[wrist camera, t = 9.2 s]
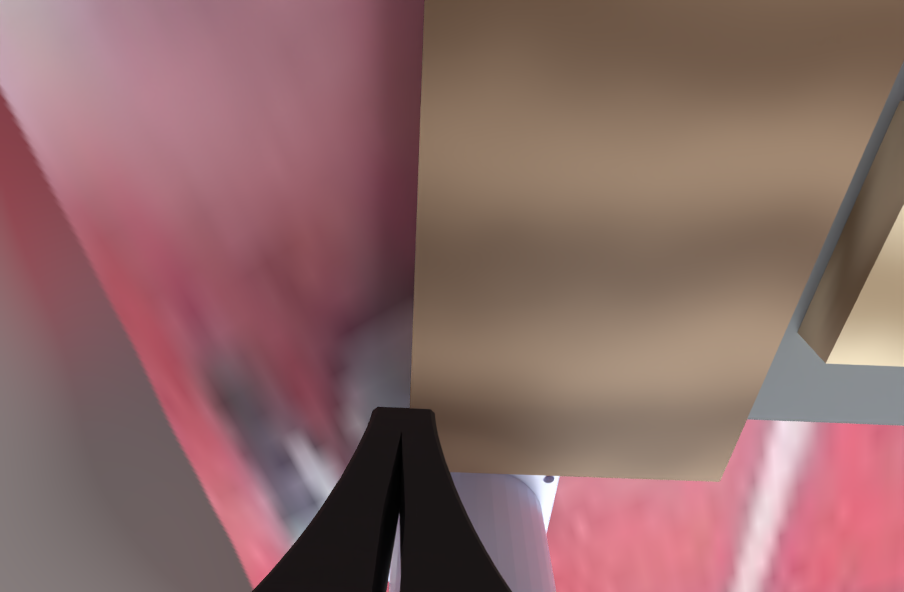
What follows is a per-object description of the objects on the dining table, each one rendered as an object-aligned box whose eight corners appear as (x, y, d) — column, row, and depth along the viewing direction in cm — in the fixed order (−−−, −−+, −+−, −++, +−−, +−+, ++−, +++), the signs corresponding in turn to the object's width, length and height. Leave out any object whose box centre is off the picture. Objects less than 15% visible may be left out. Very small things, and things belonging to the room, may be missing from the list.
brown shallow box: (682, 410, 26) (719, 481, 22) (412, 399, 25) (407, 470, 22) (853, -67, 17) (960, -70, 13) (431, -101, 16) (428, -113, 13)
